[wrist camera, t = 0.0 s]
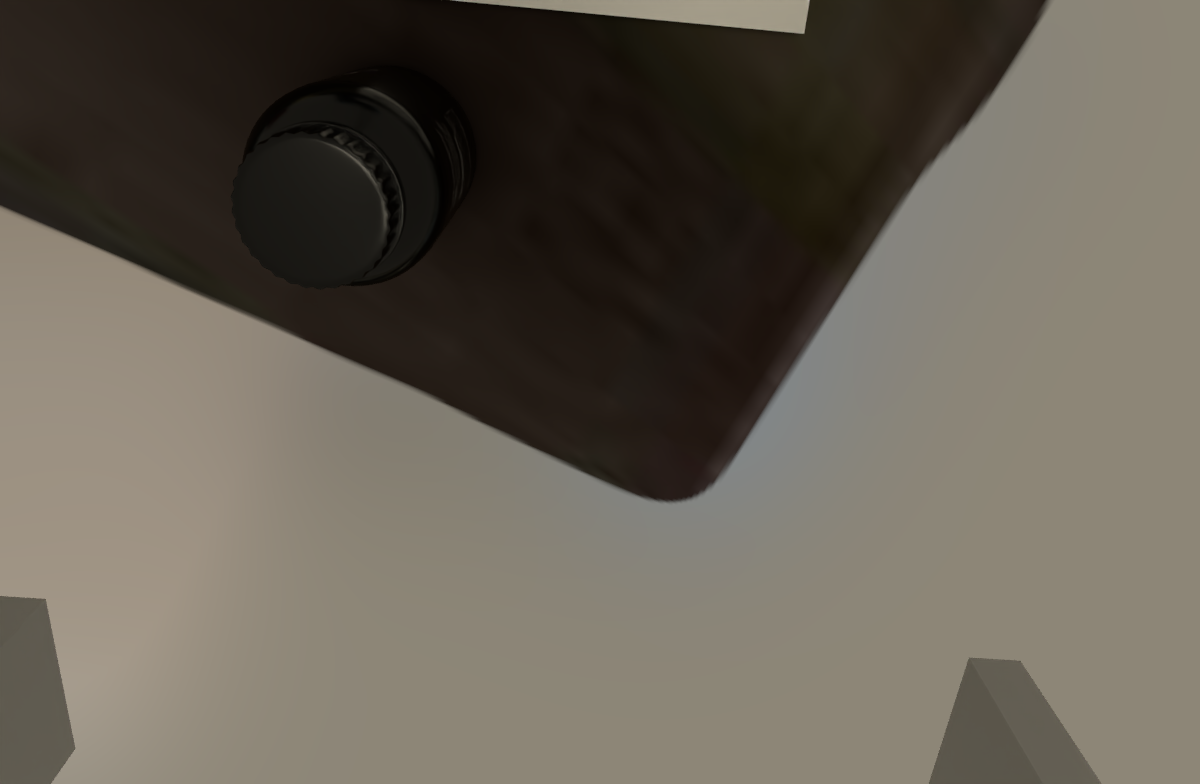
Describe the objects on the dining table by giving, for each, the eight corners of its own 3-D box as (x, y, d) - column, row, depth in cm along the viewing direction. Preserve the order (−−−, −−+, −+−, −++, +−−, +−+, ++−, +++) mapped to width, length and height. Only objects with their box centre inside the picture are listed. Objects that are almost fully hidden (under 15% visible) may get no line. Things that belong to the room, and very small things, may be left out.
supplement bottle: (346, 33, 35) (235, 44, 24) (503, 111, 36) (466, 156, 25) (291, 189, 38) (167, 263, 26) (440, 257, 39) (381, 356, 28)
